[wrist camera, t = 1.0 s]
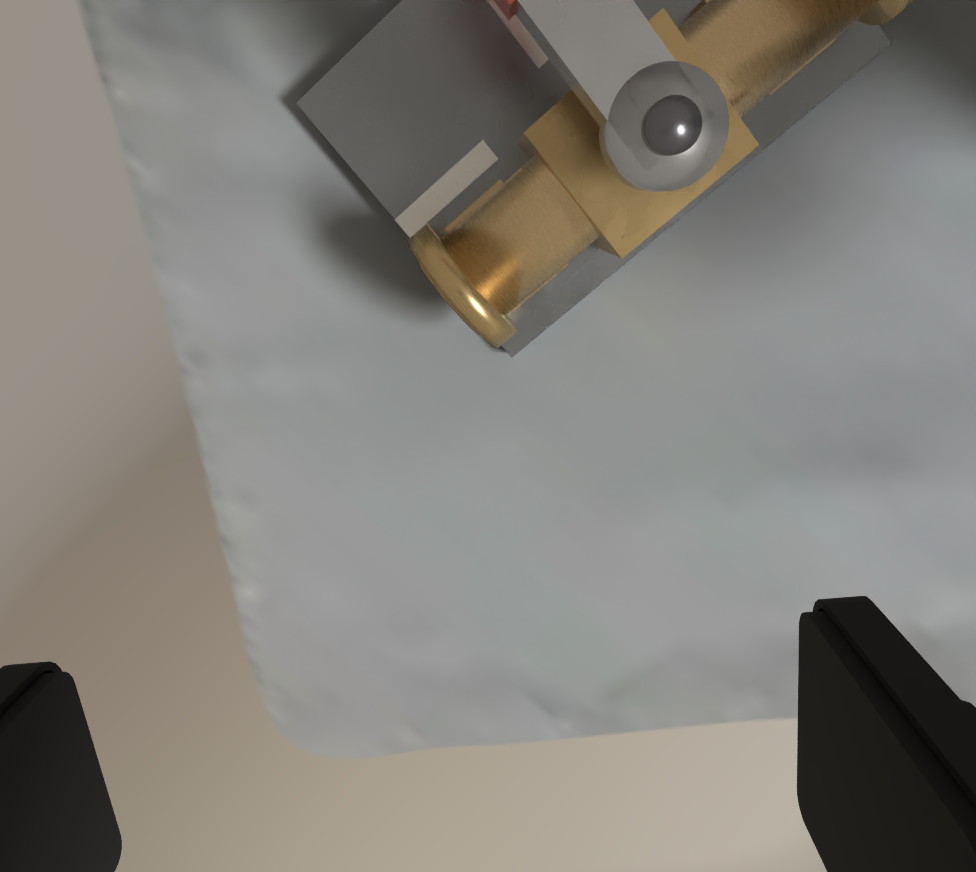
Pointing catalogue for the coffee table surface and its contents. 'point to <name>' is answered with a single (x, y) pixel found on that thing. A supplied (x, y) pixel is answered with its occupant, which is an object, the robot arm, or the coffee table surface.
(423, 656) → the coffee table surface
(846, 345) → the coffee table surface
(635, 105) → the lever
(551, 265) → the valve
